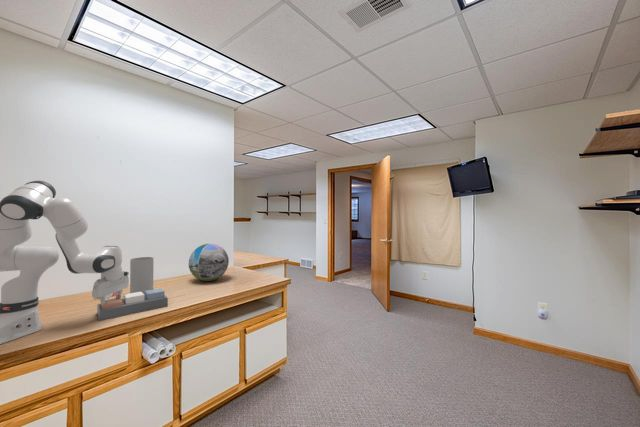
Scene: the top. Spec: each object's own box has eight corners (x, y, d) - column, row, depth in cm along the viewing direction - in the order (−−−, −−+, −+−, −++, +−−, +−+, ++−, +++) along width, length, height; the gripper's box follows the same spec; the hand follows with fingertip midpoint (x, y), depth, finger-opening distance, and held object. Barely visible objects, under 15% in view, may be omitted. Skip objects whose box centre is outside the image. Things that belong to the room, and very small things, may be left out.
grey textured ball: (207, 275, 232) (207, 241, 232) (236, 277, 223) (236, 242, 223) (179, 283, 204) (179, 244, 204) (211, 287, 194) (211, 246, 194)
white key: (125, 305, 143) (126, 297, 143) (123, 301, 149) (123, 294, 149) (144, 301, 149) (144, 294, 149) (141, 298, 155) (141, 291, 155)
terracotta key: (101, 312, 136) (101, 304, 136) (100, 308, 142) (100, 300, 142) (122, 308, 142) (122, 301, 142) (119, 304, 148) (119, 297, 148)
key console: (99, 320, 133) (99, 310, 133) (97, 313, 143) (97, 304, 143) (167, 306, 155) (167, 297, 155) (161, 300, 164) (161, 292, 164)
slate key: (147, 301, 150) (147, 294, 150) (144, 297, 156) (144, 290, 156) (164, 297, 156) (164, 291, 156) (160, 294, 162) (160, 288, 162)
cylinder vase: (157, 296, 173) (157, 258, 173) (136, 301, 162) (136, 261, 162) (147, 292, 179) (147, 256, 179) (126, 297, 169) (126, 259, 169)
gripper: (100, 280, 131) (100, 308, 131) (131, 271, 151) (130, 295, 151) (88, 280, 131) (88, 307, 131) (120, 271, 152) (120, 295, 152)
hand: (111, 301), depth 142 cm, fingers open, 8 cm apart
